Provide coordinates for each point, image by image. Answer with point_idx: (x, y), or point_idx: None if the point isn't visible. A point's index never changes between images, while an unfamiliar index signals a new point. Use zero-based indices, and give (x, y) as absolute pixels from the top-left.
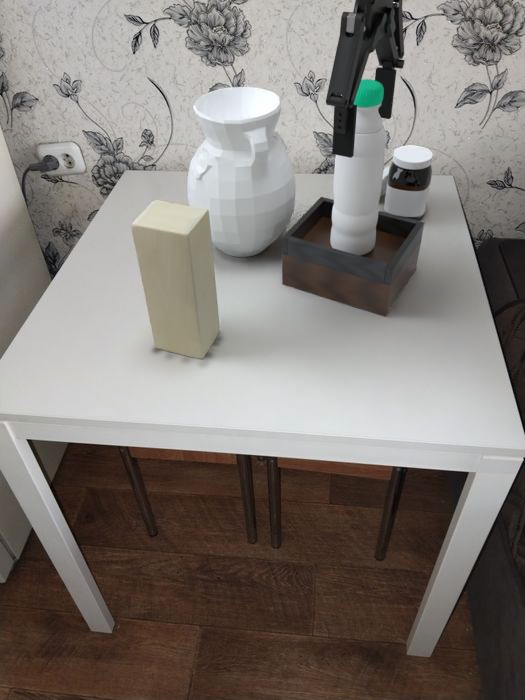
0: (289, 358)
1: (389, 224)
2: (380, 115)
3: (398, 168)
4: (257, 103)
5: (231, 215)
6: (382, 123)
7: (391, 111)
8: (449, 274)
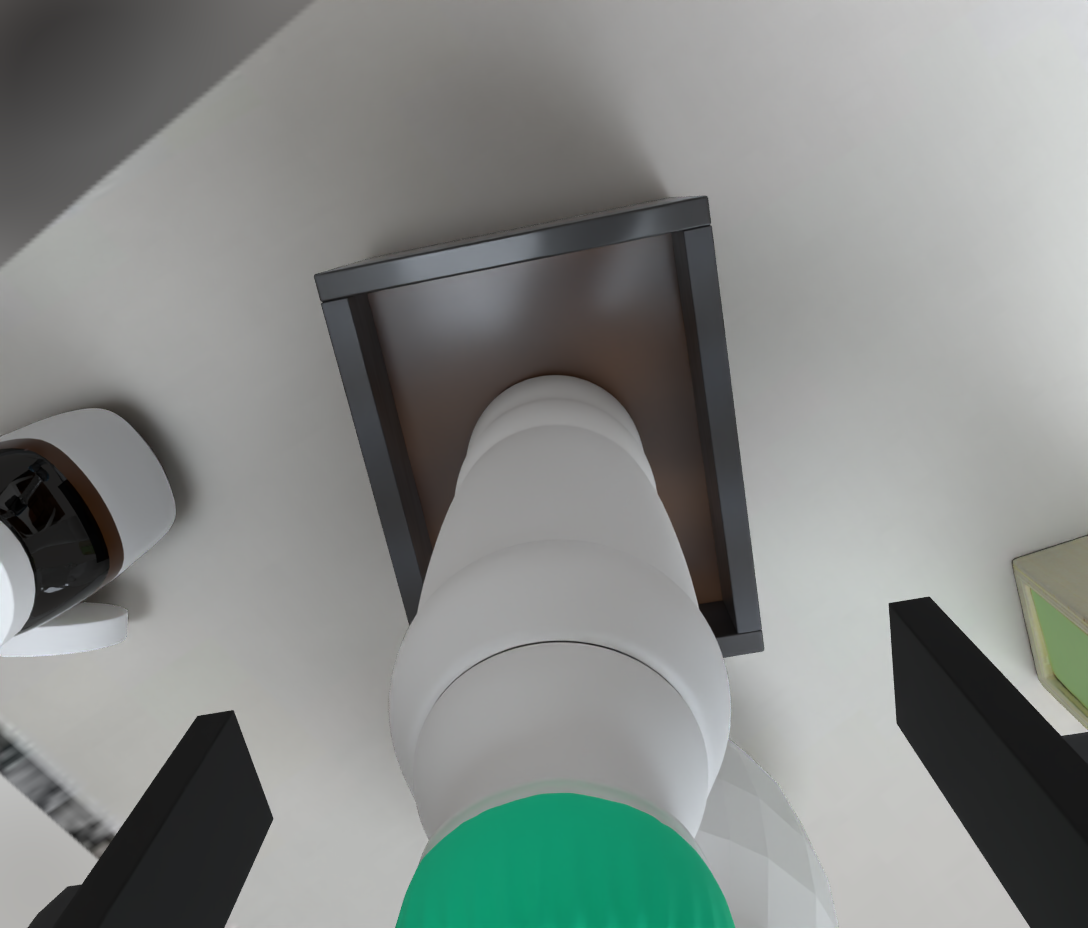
0: (1010, 329)
1: (384, 404)
2: (249, 776)
3: (39, 587)
4: None
5: (811, 851)
6: (489, 670)
7: (183, 743)
8: (313, 139)
